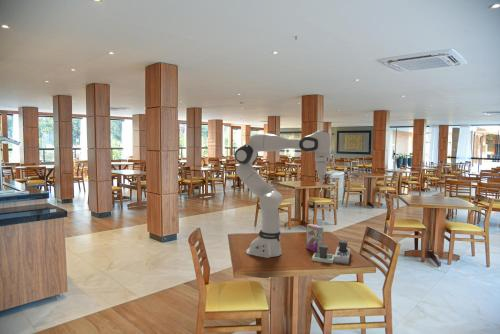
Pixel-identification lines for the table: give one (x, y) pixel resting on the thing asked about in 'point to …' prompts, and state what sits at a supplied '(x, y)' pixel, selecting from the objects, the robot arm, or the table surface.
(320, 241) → the candy bar box
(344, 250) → the seated twin plug
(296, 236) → the table surface
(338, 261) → the pdu strip
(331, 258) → the plug tray
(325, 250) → the black plug
